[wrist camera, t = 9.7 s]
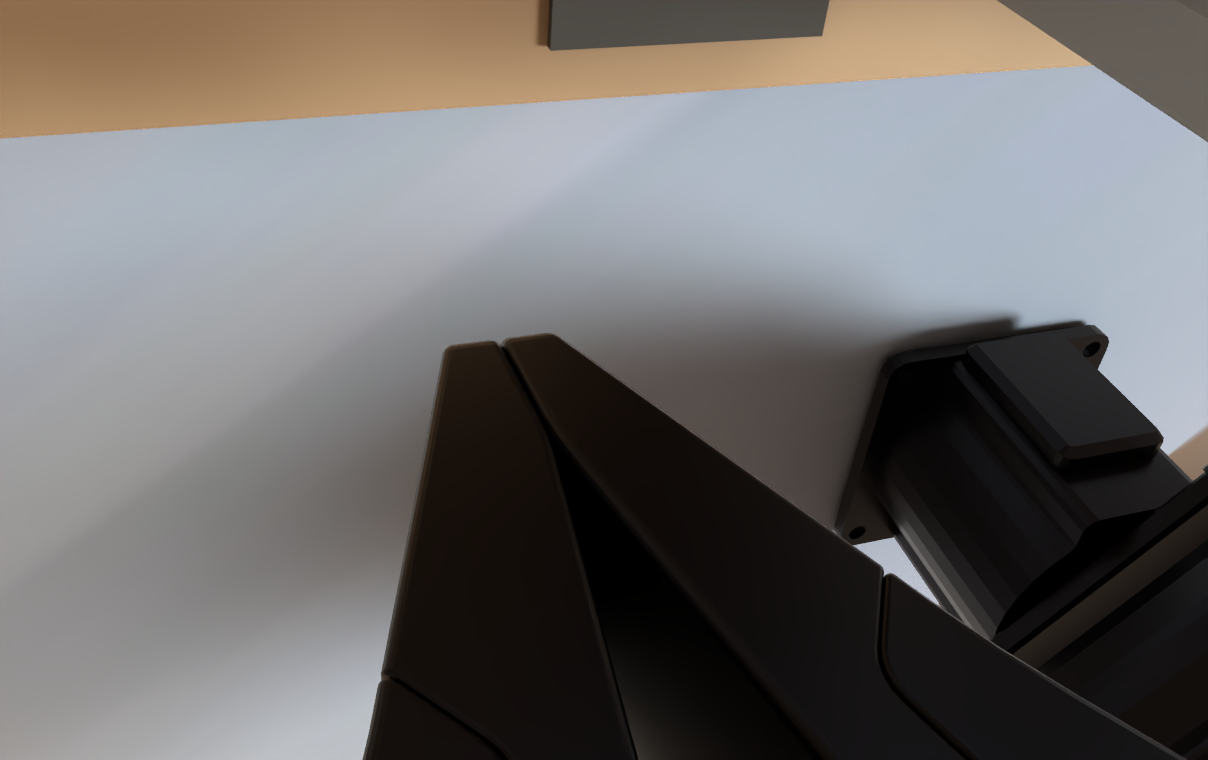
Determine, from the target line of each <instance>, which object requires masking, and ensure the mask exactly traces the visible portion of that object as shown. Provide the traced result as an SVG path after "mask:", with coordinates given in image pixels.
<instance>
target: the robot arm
mask: <svg viewBox="0 0 1208 760" xmlns="http://www.w3.org/2000/svg"><path fill="white" fill-rule="evenodd" d="M1108 343H1109V340H1108V337H1107V336H1106V335H1105V334H1104V333H1103V332H1102V331H1101V330H1100V329H1099V328H1097V327H1096V326H1095V325H1086V326H1079V327H1072V328H1065V329H1059V330H1052V331H1045V332H1038V333H1031V334H1024V335H1017V336H1010V337H1004V338H997V339H990V340H983V341H976V342H969V343H962V344H955V345H949V346H942V347H935V348H928V349H921V350H914V351H907V352H902V353H899V354H896V355H894V356H892V357H891V358H889V359H888V360H887V361H886V362H885V364H884V365H883V367H882V369H881V371H880V374H879V377H878V381H877V384H876V388H875V391H874V394H873V398H872V401H871V404H870V408H869V411H868V415H867V418H866V421H865V425H864V428H863V432H862V435H861V438H860V442H859V445H858V448H857V452H856V455H855V459H854V462H853V465H852V469H851V472H850V476H849V479H848V482H847V486H846V489H845V493H844V496H843V499H842V503H841V506H840V509H839V513H838V516H837V520H836V523H835V532H836V533H837V534H836V533H834V532H833V531H832V530H830V529H829V528H827V527H826V526H825V525H823V524H822V523H820V522H819V521H818V520H816V519H815V518H813V517H812V516H810V515H809V514H808V513H806V512H805V511H803V510H802V509H801V508H799V507H798V506H796V505H795V504H794V503H792V502H791V501H789V500H788V499H787V498H785V497H784V496H782V495H781V494H780V493H778V492H777V491H775V490H774V489H772V488H771V487H770V486H768V485H767V484H765V483H764V482H763V481H761V480H760V479H758V478H757V477H756V476H754V475H753V474H751V473H750V472H749V471H747V470H746V469H744V468H743V467H742V466H740V465H739V464H737V463H736V462H734V461H733V460H732V459H730V458H729V457H727V456H726V455H725V454H723V453H722V452H720V451H719V450H718V449H716V448H715V447H713V446H712V445H711V444H709V443H708V442H706V441H705V440H704V439H702V438H701V437H699V436H698V435H696V434H695V433H694V432H692V431H691V430H689V429H688V428H687V427H685V426H684V425H682V424H681V423H680V422H678V421H677V420H675V419H674V418H673V417H671V416H670V415H668V414H667V413H666V412H664V411H663V410H661V409H660V408H658V407H657V406H656V405H654V404H653V403H651V402H650V401H649V400H647V399H646V398H644V397H643V396H642V395H640V394H639V393H637V392H636V391H635V390H633V389H632V388H630V387H629V386H628V385H626V384H625V383H623V382H622V381H620V380H619V379H618V378H616V377H615V376H613V375H612V374H611V373H609V372H608V371H606V370H605V369H604V368H602V367H601V366H599V365H598V364H597V363H595V362H594V361H592V360H591V359H590V358H588V357H587V356H585V355H584V354H582V353H581V352H580V351H578V350H577V349H575V348H574V347H573V346H571V345H570V344H568V343H567V342H566V341H564V340H563V339H561V338H560V337H558V336H556V335H554V334H551V333H543V334H535V335H528V336H520V337H512V338H507V339H505V340H504V341H503V342H502V343H501V345H499V344H498V343H497V342H494V341H481V342H473V343H465V344H457V345H451V346H449V347H447V348H446V349H445V351H444V352H443V356H442V361H441V366H440V372H439V377H438V382H437V387H436V392H435V397H434V403H433V408H432V413H431V418H430V423H429V429H428V434H427V439H426V444H425V449H424V454H423V460H422V465H421V470H420V475H419V480H418V485H417V491H416V496H415V501H414V506H413V511H412V516H411V522H410V527H409V532H408V537H407V542H406V548H405V553H404V558H403V563H402V568H401V573H400V579H399V584H398V589H397V594H396V599H395V604H394V610H393V615H392V620H391V625H390V630H389V635H388V641H387V646H386V651H385V656H384V661H383V666H382V672H381V680H382V681H380V683H379V685H378V688H377V694H376V699H375V704H374V709H373V715H372V720H371V725H370V730H369V735H368V739H367V743H366V748H365V752H364V756H363V760H1208V465H1207V466H1205V467H1204V468H1202V469H1203V470H1204V471H1205V472H1204V473H1203V474H1202V475H1200V476H1199V477H1198V478H1197V479H1195V480H1194V481H1192V480H1191V479H1190V478H1189V477H1188V476H1187V475H1186V474H1185V473H1184V472H1183V471H1182V470H1181V469H1180V468H1179V467H1178V466H1177V465H1176V464H1175V463H1174V462H1173V461H1172V460H1171V459H1170V458H1169V457H1168V456H1167V455H1166V454H1165V453H1164V452H1163V451H1162V450H1161V449H1160V447H1161V445H1162V443H1163V439H1164V438H1163V436H1162V435H1161V433H1160V432H1159V430H1158V429H1157V428H1156V427H1155V426H1154V425H1153V424H1152V423H1151V422H1150V421H1149V420H1148V419H1147V418H1146V417H1145V416H1144V415H1143V414H1142V413H1141V412H1140V411H1139V410H1138V409H1137V408H1136V407H1135V406H1134V405H1133V404H1132V403H1131V402H1130V401H1129V400H1128V399H1127V398H1126V397H1125V396H1124V395H1123V394H1122V393H1121V392H1120V391H1119V390H1118V389H1117V388H1116V387H1115V386H1114V385H1113V384H1112V383H1111V382H1110V381H1109V380H1108V379H1107V378H1106V377H1105V376H1104V375H1102V374H1101V373H1100V372H1099V371H1098V367H1099V365H1100V363H1101V361H1102V358H1103V356H1104V354H1105V352H1106V349H1107V347H1108ZM901 373H902V374H901ZM892 537H894V538H895V539H896V541H897V542H898V544H899V545H900V547H901V548H902V549H903V551H904V552H905V554H906V555H907V557H908V558H909V560H910V561H911V563H912V564H913V566H914V567H915V569H916V570H917V571H918V573H919V574H920V576H921V577H922V579H923V580H924V582H925V583H926V585H927V586H928V588H929V589H930V590H931V592H932V593H933V595H934V596H935V598H936V599H937V601H938V602H939V604H940V605H941V607H942V608H943V609H942V608H941V607H939V606H938V605H937V604H935V603H934V602H932V601H931V600H929V599H928V598H927V597H925V596H924V595H922V594H921V593H920V592H918V591H917V590H915V589H914V588H912V587H911V586H910V585H908V584H907V583H905V582H904V581H903V580H901V579H900V578H898V577H897V576H896V575H894V574H891V573H889V574H887V575H885V576H884V570H883V567H882V566H881V565H879V564H878V563H877V562H875V561H874V560H872V559H871V558H870V557H868V556H867V555H865V554H864V553H863V552H861V551H860V550H858V549H857V548H856V547H854V546H853V545H857V544H862V543H867V542H872V541H877V540H882V539H887V538H892Z"/></svg>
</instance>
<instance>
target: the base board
mask: <svg viewBox="0 0 1208 760" xmlns="http://www.w3.org/2000/svg"><path fill="white" fill-rule="evenodd" d="M1089 65H1092V64H1091V63H1089V62H1088V61H1086V60H1085V59H1083V58H1082V57H1080V56H1079V55H1077V54H1076V53H1074V52H1073V51H1071V50H1070V49H1068V48H1067V47H1065V46H1064V45H1062V44H1061V43H1060V42H1058V41H1057V40H1055V39H1054V38H1052V37H1051V36H1049V35H1048V34H1046V33H1045V32H1043V31H1042V30H1040V29H1039V28H1037V27H1036V26H1034V25H1033V24H1031V23H1030V22H1028V21H1027V20H1025V19H1024V18H1022V17H1021V16H1019V15H1018V14H1016V13H1015V12H1013V11H1012V10H1010V9H1009V8H1007V7H1006V6H1004V5H1003V4H1001V3H1000V2H998V1H997V0H0V138H14V137H29V136H44V135H59V134H74V133H89V132H104V131H119V130H134V129H149V128H163V127H178V126H193V125H208V124H223V123H238V122H253V121H268V120H283V119H298V118H313V117H328V116H343V115H357V114H372V113H387V112H402V111H417V110H432V109H447V108H462V107H477V106H492V105H507V104H522V103H537V102H551V101H566V100H581V99H596V98H611V97H626V96H641V95H656V94H671V93H686V92H701V91H716V90H730V89H745V88H760V87H775V86H790V85H805V84H820V83H835V82H850V81H865V80H880V79H895V78H910V77H924V76H939V75H954V74H969V73H984V72H999V71H1014V70H1029V69H1044V68H1059V67H1074V66H1089Z"/></svg>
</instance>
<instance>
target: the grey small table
mask: <svg viewBox="0 0 1208 760" xmlns="http://www.w3.org/2000/svg"><path fill="white" fill-rule="evenodd" d="M997 1H998V2H1000V3H1001V4H1003V5H1004V6H1006V7H1007V8H1009V9H1010V10H1012V11H1013V12H1015V13H1016V14H1018V15H1019V16H1021V17H1022V18H1024V19H1025V20H1027V21H1028V22H1030V23H1031V24H1033V25H1034V26H1036V27H1037V28H1039V29H1040V30H1042V31H1043V32H1045V33H1046V34H1048V35H1049V36H1051V37H1052V38H1054V39H1055V40H1057V41H1058V42H1060V43H1061V44H1062V45H1064V46H1065V47H1067V48H1068V49H1070V50H1071V51H1073V52H1074V53H1076V54H1077V55H1079V56H1080V57H1082V58H1083V59H1085V60H1086V61H1088V62H1089V63H1091V64H1092V65H1094V66H1095V67H1097V68H1098V69H1100V70H1101V71H1103V72H1104V73H1106V74H1107V75H1109V76H1110V77H1112V78H1113V79H1115V80H1116V81H1118V82H1119V83H1121V84H1122V85H1124V86H1125V87H1127V88H1128V89H1130V90H1131V91H1133V92H1134V93H1135V94H1137V95H1138V96H1140V97H1141V98H1143V99H1144V100H1146V101H1147V102H1149V103H1150V104H1152V105H1153V106H1155V107H1156V108H1158V109H1159V110H1161V111H1162V112H1164V113H1165V114H1167V115H1168V116H1170V117H1171V118H1173V119H1174V120H1176V121H1177V122H1179V123H1180V124H1182V125H1183V126H1185V127H1186V128H1188V129H1189V130H1191V131H1192V132H1194V133H1195V134H1197V135H1198V136H1200V137H1201V138H1203V139H1204V140H1205V141H1207V142H1208V0H997Z"/></svg>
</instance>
